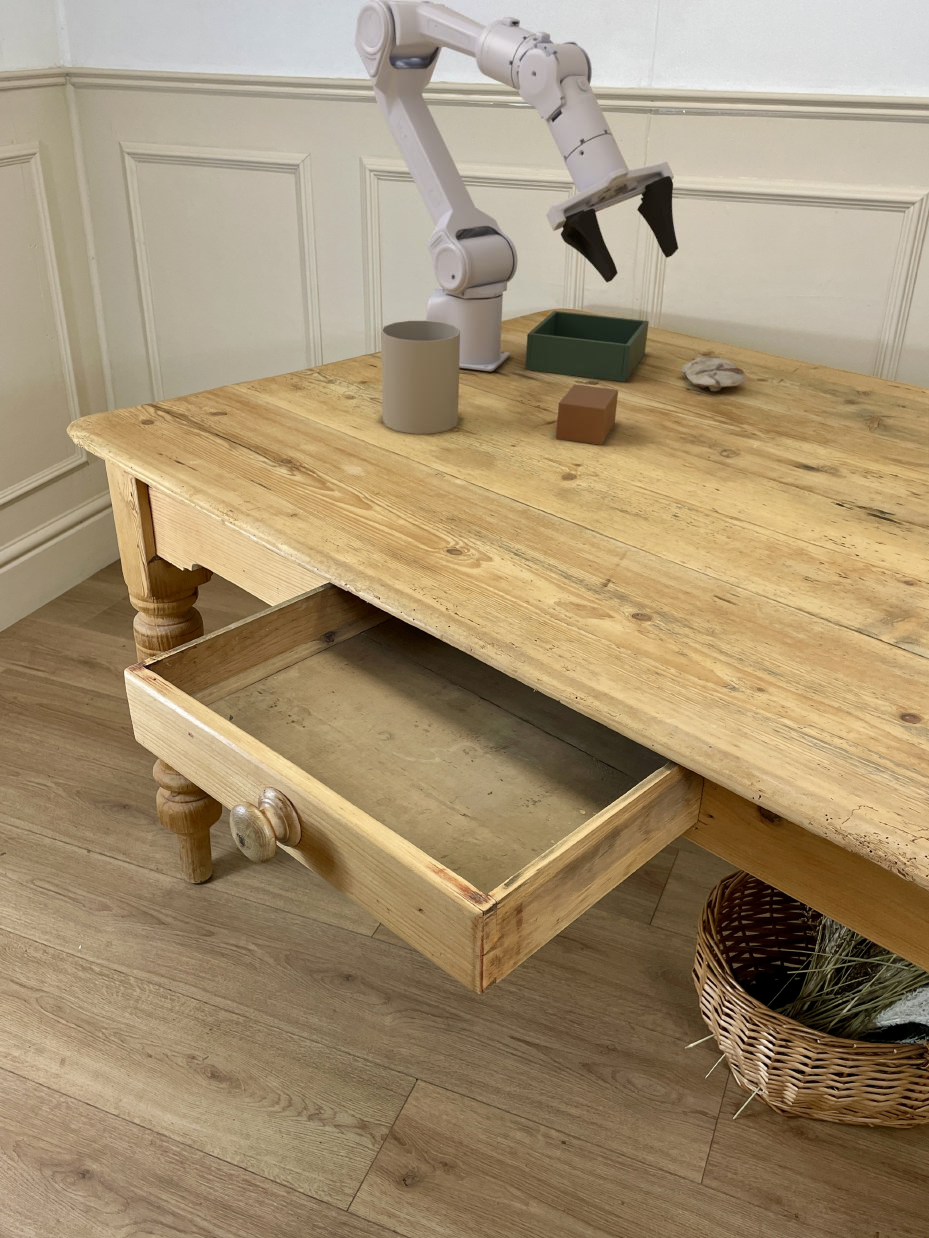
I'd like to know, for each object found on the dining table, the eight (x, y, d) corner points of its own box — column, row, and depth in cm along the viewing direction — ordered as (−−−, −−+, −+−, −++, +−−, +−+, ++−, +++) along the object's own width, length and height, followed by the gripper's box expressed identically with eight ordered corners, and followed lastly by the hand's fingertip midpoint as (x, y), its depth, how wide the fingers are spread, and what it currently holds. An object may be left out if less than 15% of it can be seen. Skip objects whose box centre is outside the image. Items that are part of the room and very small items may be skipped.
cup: (430, 439, 106) (431, 345, 101) (368, 423, 110) (366, 332, 105) (471, 417, 112) (474, 328, 107) (411, 403, 116) (411, 316, 111)
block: (555, 438, 107) (558, 402, 105) (571, 418, 113) (574, 384, 111) (601, 445, 106) (604, 409, 104) (614, 424, 112) (618, 389, 110)
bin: (525, 369, 129) (527, 333, 126) (551, 343, 139) (553, 310, 137) (625, 382, 125) (629, 345, 123) (644, 355, 136) (648, 321, 133)
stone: (753, 396, 121) (757, 375, 120) (694, 396, 121) (698, 374, 119) (728, 373, 130) (731, 353, 128) (673, 372, 129) (676, 352, 128)
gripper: (540, 153, 102) (595, 274, 102) (660, 108, 105) (714, 225, 105) (524, 187, 109) (576, 300, 109) (637, 144, 112) (688, 254, 112)
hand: (642, 265), depth 107 cm, fingers open, 7 cm apart
